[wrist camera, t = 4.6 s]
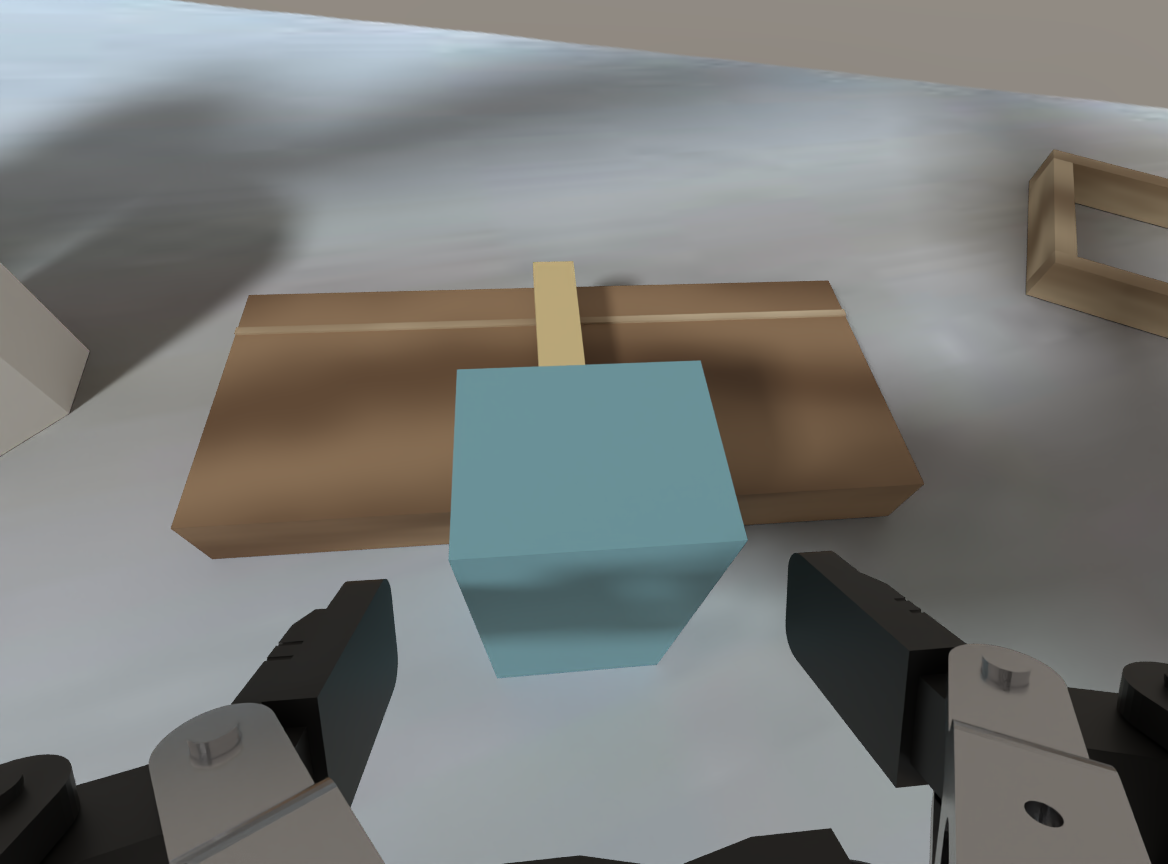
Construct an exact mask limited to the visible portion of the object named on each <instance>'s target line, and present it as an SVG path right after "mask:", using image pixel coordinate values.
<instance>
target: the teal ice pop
mask: <svg viewBox="0 0 1168 864" xmlns="http://www.w3.org/2000/svg"><path fill="white" fill-rule="evenodd" d="M533 276H534V298H535V315H536V333H537V350H538V367H512V368H485V369H458V370H457V380H456V403H455V426H454V449H453V472H452V494H451V517H450V540H449V562H450V565H451V567H452V570H453V572H454V574H455V577H456V579H457V582H458V584H459V587H460V589H461V591H462V594H463V596H464V599H465V601H466V603H467V606H468V608H469V611H470V613H471V616H472V618H473V620H474V623H475V625H476V628H477V630H478V632H479V635H480V637H481V640H482V642H483V645H484V647H485V649H486V652H487V654H488V657H489V659H490V662H491V664H492V666H493V669H494V671H495V674H496V676H497V678H506V677H517V676H529V675H541V674H553V673H564V672H576V671H588V670H600V669H612V668H623V667H635V666H647V665H657V664H658V662H659V661H660V660H661V658H662V657H663V656H664V654H665V653H666V651H667V650H668V649H669V647H670V646H671V645H672V643H673V642H674V640H675V639H676V638H677V636H678V635H679V634H680V632H681V631H682V630H683V628H684V627H685V625H686V624H687V623H688V621H689V620H690V619H691V617H692V616H693V614H694V613H695V612H696V610H697V609H698V608H699V606H700V605H701V604H702V602H703V601H704V599H705V598H706V597H707V595H708V594H709V593H710V591H711V590H712V589H713V587H714V586H715V584H716V583H717V582H718V580H719V579H720V578H721V576H722V575H723V573H724V572H725V571H726V569H727V568H728V567H729V565H730V564H731V563H732V561H733V560H734V558H735V557H736V556H737V554H738V553H739V552H740V550H741V549H742V548H743V546H744V545H745V543H746V542H747V541H748V540H747V536H746V532H745V528H744V524H743V521H742V517H741V513H740V509H739V505H738V501H737V498H736V494H735V490H734V486H733V482H732V479H731V475H730V471H729V467H728V463H727V460H726V456H725V452H724V448H723V444H722V440H721V437H720V433H719V429H718V425H717V421H716V418H715V414H714V410H713V406H712V402H711V399H710V395H709V391H708V387H707V383H706V379H705V376H704V372H703V368H702V364H701V361H674V362H647V363H620V364H593V365H585V359H584V350H583V341H582V333H581V324H580V316H579V307H578V298H577V290H576V281H575V273H574V264H573V261H568V262H533Z"/></svg>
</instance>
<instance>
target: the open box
mask: <svg viewBox="0 0 1168 864" xmlns="http://www.w3.org/2000/svg"><path fill="white" fill-rule="evenodd" d="M576 290H577V298H578V307H579V316H580V324H581V333H582V341H583V350H584V359H585V365H593V364H620V363H647V362H674V361H701V364H702V368H703V372H704V376H705V379H706V383H707V387H708V391H709V395H710V399H711V402H712V406H713V410H714V414H715V418H716V421H717V425H718V429H719V433H720V437H721V440H722V444H723V448H724V452H725V456H726V460H727V463H728V467H729V471H730V475H731V479H732V482H733V486H734V490H735V494H736V498H737V501H738V505H739V509H740V513H741V517H742V521H743V524H744V525H754V524H770V523H785V522H801V521H817V520H832V519H848V518H864V517H879V516H888V515H890V514H891V513H892V512H893V511H894V510H895V509H896V508H898V507H899V506H900V505H901V504H902V503H903V502H904V501H906V500H907V499H908V498H909V497H910V496H911V495H912V494H914V493H915V492H916V491H917V490H918V489H919V488H920V487H922V486H923V485H924V482H923V480H922V478H921V476H920V474H919V472H918V470H917V467H916V465H915V463H914V461H913V459H912V457H911V455H910V453H909V450H908V448H907V446H906V444H905V442H904V440H903V438H902V436H901V434H900V431H899V429H898V427H897V425H896V423H895V421H894V419H893V417H892V414H891V412H890V410H889V408H888V406H887V404H886V402H885V400H884V397H883V395H882V393H881V391H880V389H879V387H878V385H877V383H876V381H875V378H874V376H873V374H872V372H871V370H870V368H869V366H868V364H867V361H866V359H865V357H864V355H863V353H862V351H861V349H860V347H859V345H858V342H857V340H856V338H855V336H854V334H853V332H852V330H851V328H850V325H849V323H848V321H847V319H846V317H845V316H846V313H845V311H844V309H842V308H841V306H840V304H839V302H838V300H837V298H836V296H835V294H834V292H833V289H832V287H831V285H830V283H829V281H795V282H755V283H715V284H675V285H635V286H595V287H576ZM234 334H235V338H234V341H233V344H232V347H231V350H230V353H229V356H228V359H227V362H226V365H225V368H224V371H223V374H222V377H221V380H220V383H219V386H218V389H217V392H216V395H215V398H214V401H213V404H212V407H211V410H210V413H209V416H208V419H207V422H206V425H205V428H204V431H203V434H202V437H201V440H200V443H199V446H198V449H197V452H196V455H195V458H194V461H193V464H192V467H191V470H190V472H189V475H188V478H187V481H186V484H185V487H184V490H183V493H182V496H181V499H180V502H179V505H178V508H177V511H176V514H175V517H174V520H173V523H172V526H171V529H172V530H173V531H175V532H176V533H178V534H179V535H180V536H182V537H183V538H184V539H186V540H187V541H188V542H190V543H191V544H192V545H194V546H195V547H196V548H198V549H199V550H201V551H202V552H203V553H205V554H206V555H207V556H209V557H210V558H211V559H221V558H237V557H252V556H268V555H284V554H299V553H315V552H331V551H346V550H362V549H378V548H393V547H409V546H425V545H440V544H449V540H450V517H451V494H452V472H453V449H454V426H455V403H456V380H457V370H458V369H485V368H512V367H538V350H537V333H536V315H535V298H534V288H515V289H475V290H435V291H395V292H355V293H315V294H275V295H249V296H248V299H247V302H246V305H245V308H244V311H243V314H242V317H241V320H240V323H239V326H238V327H236V330H235V333H234Z"/></svg>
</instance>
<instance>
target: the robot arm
mask: <svg viewBox="0 0 1168 864" xmlns="http://www.w3.org/2000/svg"><path fill="white" fill-rule="evenodd" d="M786 635H787V640H788V643H789V646H790V649H791V651H792V653H793V655H794V657H795V658H796V660H797V661H798V662H799V663H800V665H801V666H802V667H803V669H804V670H805V671H806V672H807V674H808V675H809V676H810V678H811V679H812V680H813V681H814V683H815V684H816V685H817V687H818V688H819V689H820V691H821V692H822V693H823V694H824V696H825V697H826V698H827V700H828V701H829V702H830V703H831V705H832V706H833V707H834V709H835V710H836V711H837V712H838V714H839V715H840V716H841V718H842V719H843V720H844V721H845V723H846V724H847V725H848V727H849V728H850V729H851V730H852V732H853V733H854V734H855V736H856V737H857V738H858V739H859V741H860V742H861V743H862V745H863V746H864V747H865V749H866V750H867V751H868V752H869V754H870V755H871V756H872V758H873V759H874V760H875V761H876V763H877V764H878V765H879V767H880V768H881V769H882V770H883V772H884V773H885V774H886V776H887V777H888V778H889V779H890V781H891V782H892V783H893V785H894V786H895V787H896V788H899V787H909V786H919V785H928V784H929V785H930V787H931V788H932V789H933V798H932V807H931V828H930V859H929V864H1168V664H1165V663H1158V662H1135V663H1131V664H1128V665H1127V666H1125V667H1124V669H1123V672H1122V678H1121V683H1120V689H1119V693H1111V692H1103V691H1094V690H1086V689H1077V688H1069V687H1067V686H1066V684H1065V682H1064V680H1063V679H1062V678H1061V676H1060V675H1059V674H1057V673H1056V672H1055V671H1054V670H1053V669H1051V668H1050V667H1048V666H1047V665H1045V664H1044V663H1042V662H1040V661H1038V660H1036V659H1034V658H1032V657H1030V656H1028V655H1025V654H1023V653H1020V652H1017V651H1014V650H1011V649H1007V648H1003V647H999V646H994V645H987V644H966V643H965V642H963V641H962V640H961V639H959V638H958V637H957V636H955V635H954V634H953V633H951V632H950V631H949V630H947V629H946V628H945V627H943V626H942V625H941V624H939V623H938V622H937V621H935V620H934V619H933V618H931V617H930V616H929V615H927V614H926V613H925V612H924V613H921V609H919V608H918V607H917V606H915V605H914V604H913V603H911V602H910V601H906V600H905V597H903V596H902V595H901V594H899V593H898V592H897V591H895V590H894V589H893V588H891V587H890V586H889V585H887V584H886V583H883V582H881V581H879V580H876V579H874V578H872V577H870V576H867V575H865V574H863V573H860V572H859V571H857V570H856V569H855V568H854V567H852V566H851V565H850V564H848V563H847V562H846V561H845V560H843V559H842V558H841V557H839V556H838V555H837V554H836V553H834V552H832V551H821V552H805V553H794V554H793V555H792V556H791V558H790V560H789V566H788V584H787V604H786ZM397 667H398V654H397V643H396V634H395V624H394V614H393V605H392V595H391V588H390V584H389V582H388V580H387V579H378V580H363V581H347V582H345V583H344V584H343V586H342V587H341V588H340V590H339V591H338V593H337V594H336V596H335V597H334V598H333V600H332V601H331V603H330V604H329V606H328V607H327V608H326V609H315V610H314V611H312V612H311V613H309V614H308V615H306V616H305V617H303V618H302V619H300V620H299V621H298V622H296V623H295V624H293V625H292V626H291V627H290V629H289V630H288V631H287V633H286V634H285V635H284V636H283V638H282V639H281V640H280V642H279V645H278V646H276V647H275V648H274V649H273V651H272V652H271V653H270V654H269V656H268V657H267V661H264V662H263V664H262V665H261V666H260V667H259V669H258V670H257V671H256V673H255V674H254V675H253V676H252V678H251V679H250V680H249V682H248V683H247V684H246V685H245V687H244V688H243V689H242V691H241V692H240V693H239V695H238V696H237V697H236V698H235V700H234V701H233V702H232V704H231V705H227V706H223V707H220V708H216V709H213V710H210V711H208V712H205V713H203V714H201V715H198V716H196V717H194V718H192V719H190V720H189V721H187V722H185V723H183V724H182V725H180V726H179V727H177V728H176V729H174V730H173V731H172V732H171V733H169V734H168V735H167V736H166V737H165V738H164V739H163V740H162V741H161V742H160V743H159V744H158V745H157V746H156V748H155V749H154V751H153V752H152V754H151V756H150V760H149V764H148V765H145V766H142V767H139V768H135V769H132V770H128V771H125V772H121V773H118V774H115V775H111V776H108V777H104V778H101V779H97V780H94V781H90V782H87V783H83V784H80V785H76V783H75V779H74V775H73V771H72V766H71V763H70V762H69V760H68V759H66V758H64V757H62V756H59V755H49V754H47V755H36V756H30V757H25V758H21V759H17V760H13V761H10V762H7V763H4V764H1V765H0V864H385V863H384V861H383V860H382V858H381V857H380V855H379V853H378V852H377V850H376V849H375V847H374V845H373V844H372V842H371V840H370V839H369V837H368V836H367V834H366V832H365V831H364V829H363V827H362V826H361V824H360V823H359V821H358V819H357V818H356V816H355V815H354V813H353V811H352V810H351V808H350V807H351V804H352V802H353V799H354V796H355V794H356V791H357V788H358V785H359V783H360V780H361V777H362V774H363V772H364V769H365V766H366V764H367V761H368V758H369V755H370V753H371V750H372V747H373V745H374V742H375V739H376V736H377V734H378V731H379V728H380V726H381V723H382V720H383V717H384V715H385V712H386V709H387V706H388V704H389V701H390V698H391V696H392V693H393V690H394V687H395V683H396V677H397ZM506 864H638V863H631V862H624V861H616V860H609V859H602V858H595V857H587V856H570V857H561V858H552V859H543V860H533V861H524V862H515V863H506ZM684 864H870V863H866V862H862V861H856V860H850V859H849V858H848V856H847V855H846V853H845V851H844V849H843V848H842V846H841V844H840V843H839V841H838V839H837V838H836V836H835V834H834V832H833V831H832V829H831V828H829V829H820V830H811V831H802V832H792V833H783V834H774V835H765V836H755V837H750V838H747V839H745V840H742V841H740V842H737V843H735V844H732V845H730V846H727V847H725V848H722V849H720V850H717V851H715V852H712V853H710V854H707V855H705V856H702V857H699V858H697V859H694V860H692V861H689V862H687V863H684Z"/></svg>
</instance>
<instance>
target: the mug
mask: <svg viewBox="0 0 1168 864" xmlns="http://www.w3.org/2000/svg"><path fill="white" fill-rule="evenodd" d="M89 352H90V351H89V350H88V349H87V348H86V347H85V346H84V345H83V344H82V343H81V342H80V341H79V340H78V339H77V338H76V337H75V336H74V335H73V334H72V333H71V332H70V331H69V330H68V329H67V328H66V327H65V326H64V325H63V324H62V323H61V322H60V321H59V320H58V319H57V318H56V317H55V316H54V315H53V314H52V313H51V312H50V311H49V310H48V309H47V308H46V307H45V306H44V305H43V304H42V303H41V302H40V301H39V300H38V299H37V298H36V297H35V296H34V295H33V294H32V293H31V292H30V291H29V290H28V289H27V288H26V287H25V286H24V285H23V284H22V283H21V282H20V281H19V280H18V279H17V278H16V277H15V276H14V275H13V274H12V273H11V272H10V271H9V270H8V269H7V268H6V267H5V266H4V265H3V264H2V263H1V262H0V456H1V455H3V454H4V453H6V452H8V451H9V450H11V449H13V448H14V447H16V446H17V445H19V444H21V443H22V442H24V441H26V440H27V439H29V438H30V437H32V436H34V435H35V434H37V433H38V432H40V431H42V430H43V429H45V428H47V427H48V426H50V425H51V424H53V423H55V422H56V421H58V420H60V419H61V418H63V417H64V416H66V415H68V414H69V412H70V409H71V406H72V403H73V400H74V397H75V394H76V391H77V388H78V385H79V382H80V379H81V376H82V373H83V370H84V367H85V364H86V361H87V358H88V355H89Z"/></svg>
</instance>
